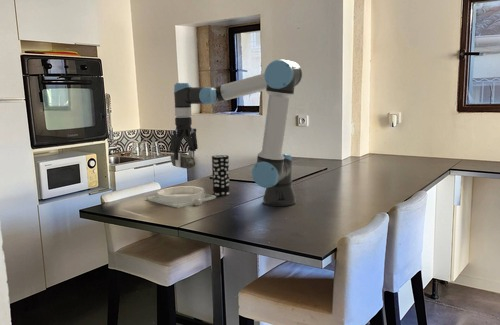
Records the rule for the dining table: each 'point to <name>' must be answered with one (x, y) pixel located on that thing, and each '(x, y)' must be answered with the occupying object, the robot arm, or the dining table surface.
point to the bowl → (181, 194)
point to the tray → (155, 199)
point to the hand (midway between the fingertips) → (184, 165)
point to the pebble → (197, 202)
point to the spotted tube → (220, 175)
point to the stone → (184, 161)
